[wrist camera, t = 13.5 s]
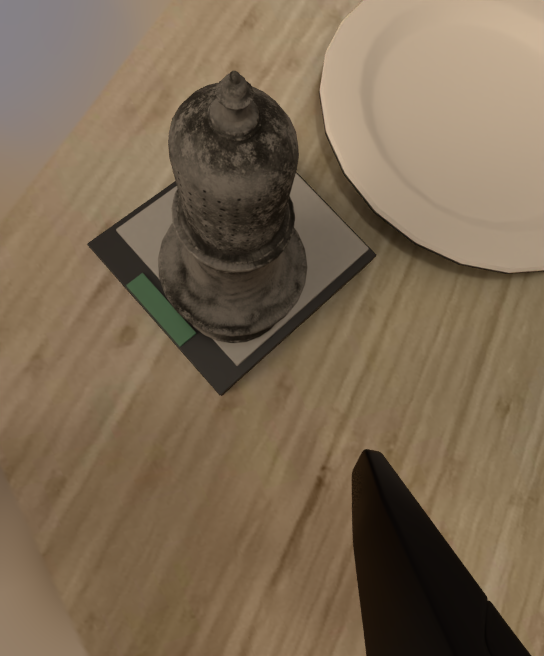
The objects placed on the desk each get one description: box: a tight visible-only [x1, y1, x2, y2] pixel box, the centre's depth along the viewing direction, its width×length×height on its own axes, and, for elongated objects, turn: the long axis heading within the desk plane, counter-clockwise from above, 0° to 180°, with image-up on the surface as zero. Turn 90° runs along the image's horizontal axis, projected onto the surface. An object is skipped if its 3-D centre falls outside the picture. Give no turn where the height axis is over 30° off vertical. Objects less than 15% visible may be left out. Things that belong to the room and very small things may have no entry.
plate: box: [319, 0, 544, 274], centre depth 22 cm, size 21×21×2 cm
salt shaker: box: [158, 71, 307, 343], centre depth 12 cm, size 6×6×12 cm
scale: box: [87, 172, 376, 396], centre depth 19 cm, size 11×10×2 cm
